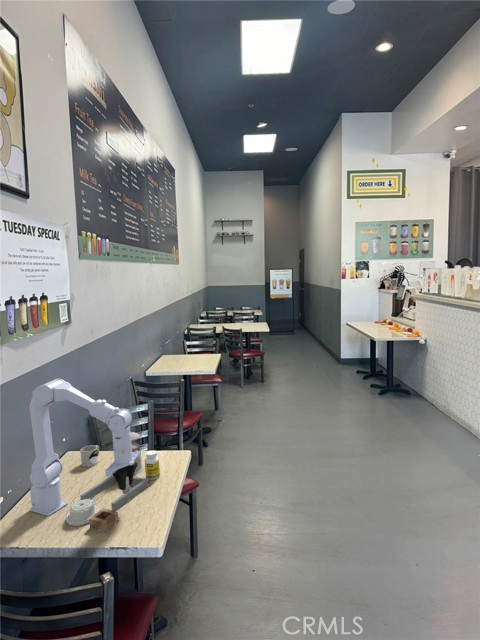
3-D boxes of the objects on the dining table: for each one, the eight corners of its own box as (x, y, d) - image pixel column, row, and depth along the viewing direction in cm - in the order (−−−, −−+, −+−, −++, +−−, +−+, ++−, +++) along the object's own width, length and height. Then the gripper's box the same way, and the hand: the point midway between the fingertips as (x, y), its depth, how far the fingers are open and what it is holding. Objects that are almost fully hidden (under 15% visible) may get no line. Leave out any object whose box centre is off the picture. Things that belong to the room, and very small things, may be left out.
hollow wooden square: (89, 527, 122) (89, 518, 122) (104, 517, 128) (103, 508, 128) (104, 532, 120) (103, 522, 120) (118, 521, 125) (117, 512, 125)
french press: (136, 476, 154) (130, 414, 152) (110, 473, 158) (105, 412, 156) (149, 465, 164) (144, 406, 161) (125, 463, 167) (120, 405, 165)
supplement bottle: (146, 481, 150) (144, 456, 149) (145, 475, 155) (143, 451, 154) (160, 478, 151) (158, 454, 151) (159, 472, 157) (157, 448, 156)
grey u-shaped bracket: (80, 502, 138) (80, 495, 137) (116, 479, 153) (115, 472, 153) (114, 511, 131) (113, 503, 131) (148, 485, 147) (147, 479, 146)
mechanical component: (59, 525, 125) (88, 527, 123) (58, 512, 125) (86, 514, 122) (78, 508, 135) (105, 509, 133) (77, 495, 134) (104, 497, 132)
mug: (92, 467, 165) (91, 452, 164) (78, 466, 166) (76, 451, 166) (105, 457, 174) (104, 442, 174) (92, 456, 176) (91, 441, 175)
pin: (120, 493, 131) (119, 477, 130) (125, 489, 133) (124, 473, 132) (126, 494, 130) (125, 478, 129) (131, 490, 132) (130, 474, 131)
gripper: (116, 458, 122) (119, 500, 123) (146, 440, 135) (149, 479, 136) (98, 455, 125) (102, 496, 126) (130, 438, 138) (133, 475, 139)
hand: (125, 487), depth 131 cm, fingers closed on pin, 2 cm apart
